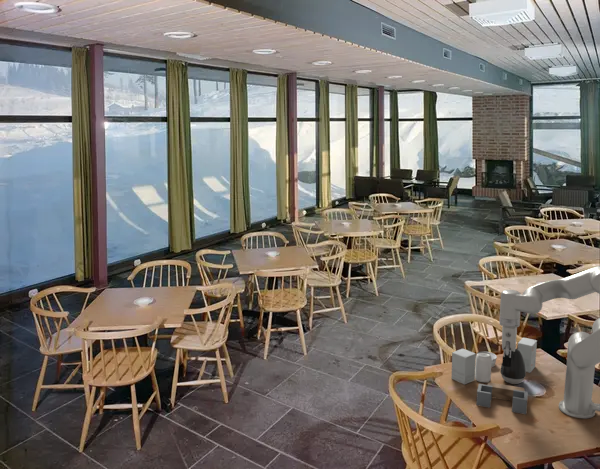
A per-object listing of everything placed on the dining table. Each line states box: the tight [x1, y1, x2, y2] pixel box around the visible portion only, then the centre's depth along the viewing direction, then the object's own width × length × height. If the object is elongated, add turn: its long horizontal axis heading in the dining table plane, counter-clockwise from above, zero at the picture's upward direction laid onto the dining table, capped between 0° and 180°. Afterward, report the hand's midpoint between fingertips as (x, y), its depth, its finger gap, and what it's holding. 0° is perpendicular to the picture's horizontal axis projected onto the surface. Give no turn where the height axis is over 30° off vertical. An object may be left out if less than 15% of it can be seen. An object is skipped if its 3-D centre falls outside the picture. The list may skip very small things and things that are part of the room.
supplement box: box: [450, 348, 477, 385], centre depth 230 cm, size 7×7×13 cm
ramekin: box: [487, 351, 498, 368], centre depth 246 cm, size 9×9×4 cm
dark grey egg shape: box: [499, 348, 527, 385], centre depth 227 cm, size 10×10×15 cm
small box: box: [517, 337, 538, 374], centre depth 240 cm, size 8×6×13 cm
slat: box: [487, 381, 525, 402], centre depth 215 cm, size 14×4×5 cm, turn 67°
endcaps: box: [475, 383, 528, 415], centre depth 209 cm, size 18×7×6 cm, turn 66°
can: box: [475, 351, 492, 384], centre depth 230 cm, size 6×6×12 cm
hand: (507, 361), depth 212 cm, fingers open, 9 cm apart
